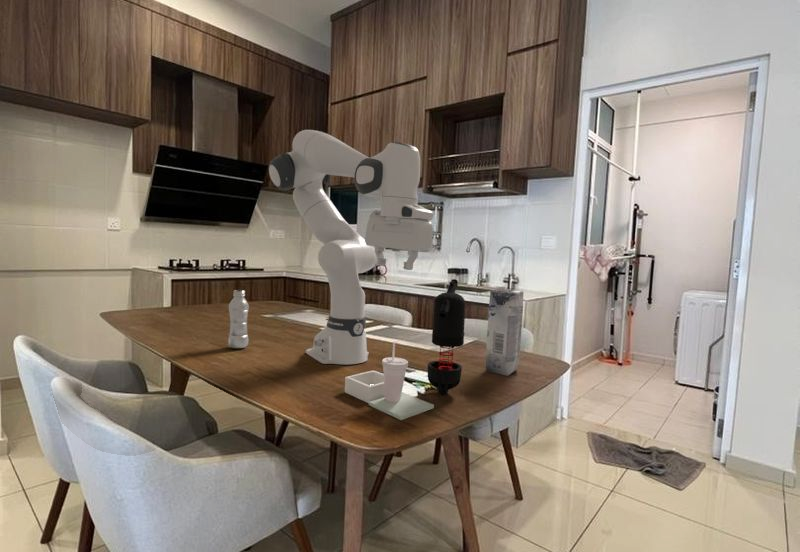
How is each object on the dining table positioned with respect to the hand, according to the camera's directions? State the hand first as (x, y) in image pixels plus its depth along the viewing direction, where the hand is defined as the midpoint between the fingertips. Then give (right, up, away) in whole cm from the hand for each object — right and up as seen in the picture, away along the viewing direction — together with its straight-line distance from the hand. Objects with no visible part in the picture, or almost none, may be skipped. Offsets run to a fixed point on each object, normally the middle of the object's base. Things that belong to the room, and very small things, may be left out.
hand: (394, 267), depth 104 cm
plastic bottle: (-55, -27, +42) cm, 74 cm away
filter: (+12, -33, +6) cm, 36 cm away
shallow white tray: (-6, -32, +5) cm, 33 cm away
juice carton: (+34, -32, +30) cm, 55 cm away
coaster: (+2, -33, -3) cm, 34 cm away
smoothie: (0, -32, -1) cm, 32 cm away
